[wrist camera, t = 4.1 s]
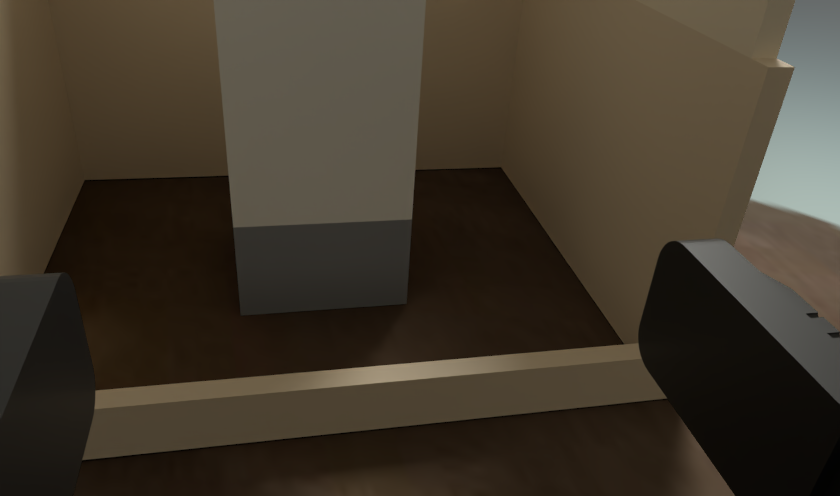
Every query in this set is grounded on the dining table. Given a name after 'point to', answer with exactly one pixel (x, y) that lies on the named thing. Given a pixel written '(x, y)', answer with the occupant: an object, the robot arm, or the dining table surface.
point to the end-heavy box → (320, 148)
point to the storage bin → (436, 149)
